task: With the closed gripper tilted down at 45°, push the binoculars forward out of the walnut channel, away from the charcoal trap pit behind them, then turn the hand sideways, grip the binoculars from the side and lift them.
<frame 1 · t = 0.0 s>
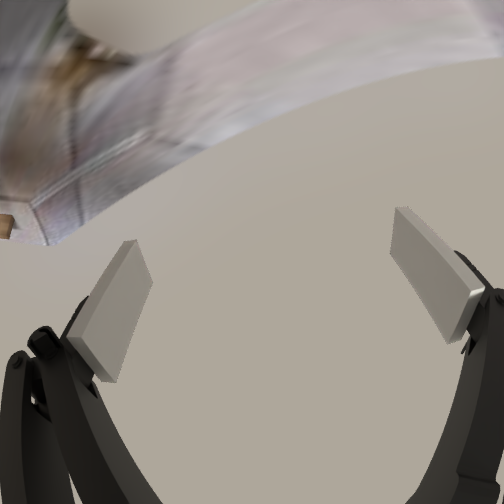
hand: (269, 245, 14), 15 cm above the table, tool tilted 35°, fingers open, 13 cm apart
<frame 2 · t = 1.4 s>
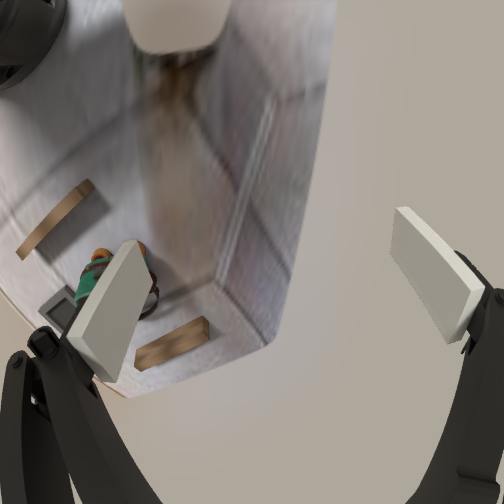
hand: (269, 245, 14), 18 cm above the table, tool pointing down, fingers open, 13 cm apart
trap: (70, 314, 35), on the table
binoculars: (128, 273, 34), on the table
channel: (114, 283, 34), on the table
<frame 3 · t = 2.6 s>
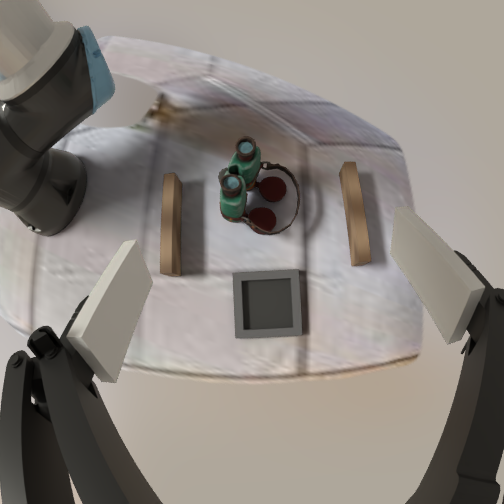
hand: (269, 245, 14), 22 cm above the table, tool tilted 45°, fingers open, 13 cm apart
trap: (267, 304, 35), on the table
binoculars: (261, 204, 37), on the table
channel: (263, 221, 37), on the table
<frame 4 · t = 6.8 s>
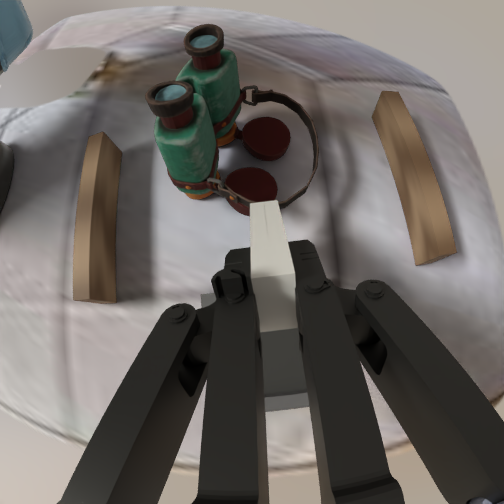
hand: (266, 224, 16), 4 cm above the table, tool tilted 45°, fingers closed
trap: (271, 349, 18), on the table
binoculars: (249, 166, 21), on the table, touching gripper
channel: (253, 196, 20), on the table
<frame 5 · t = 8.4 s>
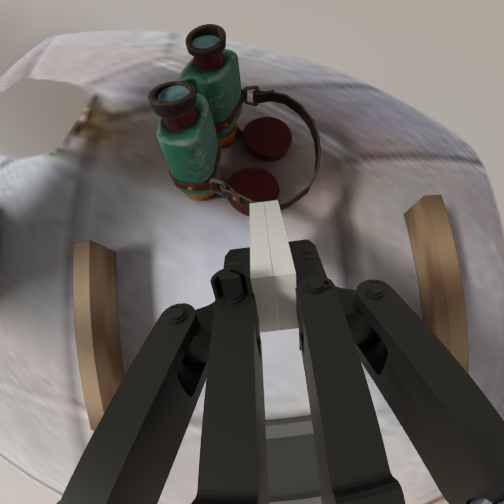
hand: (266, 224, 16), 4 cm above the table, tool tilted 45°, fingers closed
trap: (283, 465, 16), on the table
binoculars: (250, 166, 21), on the table, touching gripper
channel: (269, 327, 18), on the table
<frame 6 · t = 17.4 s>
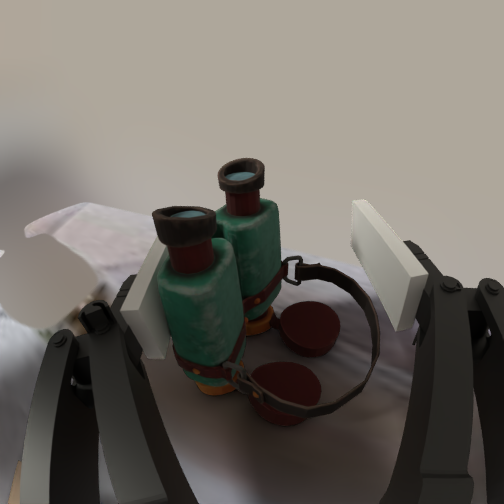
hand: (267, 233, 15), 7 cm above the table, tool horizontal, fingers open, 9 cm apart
binoculars: (285, 363, 16), on the table, touching gripper
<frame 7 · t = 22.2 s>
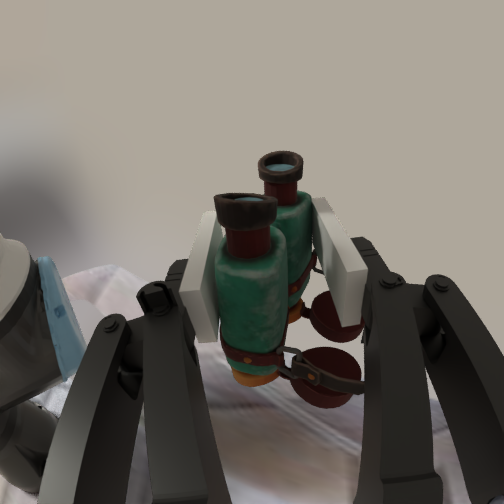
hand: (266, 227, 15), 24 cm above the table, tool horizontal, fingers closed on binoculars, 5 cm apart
binoculars: (318, 350, 16), point 17 cm above the table, touching gripper
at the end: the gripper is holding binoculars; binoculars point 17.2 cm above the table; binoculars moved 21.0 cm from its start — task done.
